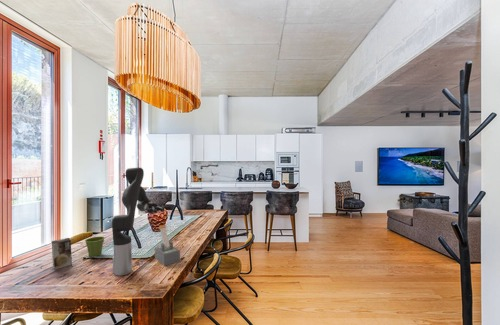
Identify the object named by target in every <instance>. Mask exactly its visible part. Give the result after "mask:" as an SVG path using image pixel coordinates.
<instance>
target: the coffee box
mask: <svg viewBox="0 0 500 325" xmlns="http://www.w3.org/2000/svg"><path fill="white" fill-rule="evenodd" d="M71 241H72V240H71V238H69V237H66V238H60V239H56V240H52V241H51V255H52V268H53V270H57V269H62V268H66V267H68V266H72V265H73V261H72V258H73V257H72V256H73V255H72V242H71Z"/></svg>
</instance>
